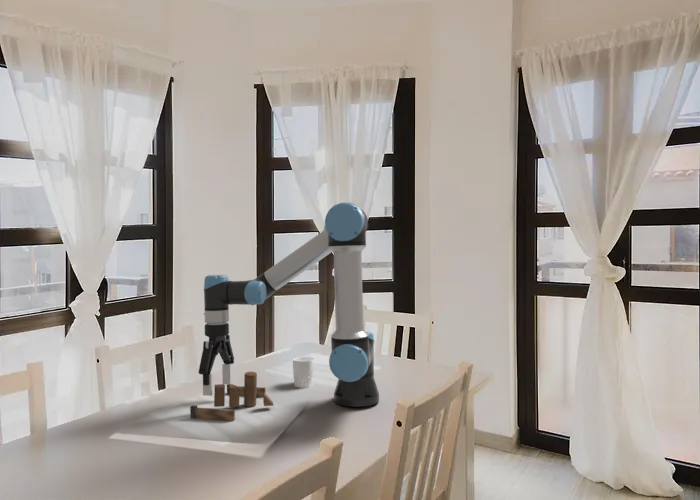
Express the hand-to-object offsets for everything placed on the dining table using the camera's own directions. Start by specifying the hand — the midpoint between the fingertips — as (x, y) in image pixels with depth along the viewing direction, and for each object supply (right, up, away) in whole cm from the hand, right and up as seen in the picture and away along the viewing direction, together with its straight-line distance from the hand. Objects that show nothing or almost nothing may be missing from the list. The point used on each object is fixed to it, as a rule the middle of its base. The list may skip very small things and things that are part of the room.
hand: (217, 389), depth 166 cm
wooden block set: (+9, -5, -2) cm, 11 cm away
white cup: (+25, -5, +23) cm, 35 cm away
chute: (+5, -5, -1) cm, 7 cm away
